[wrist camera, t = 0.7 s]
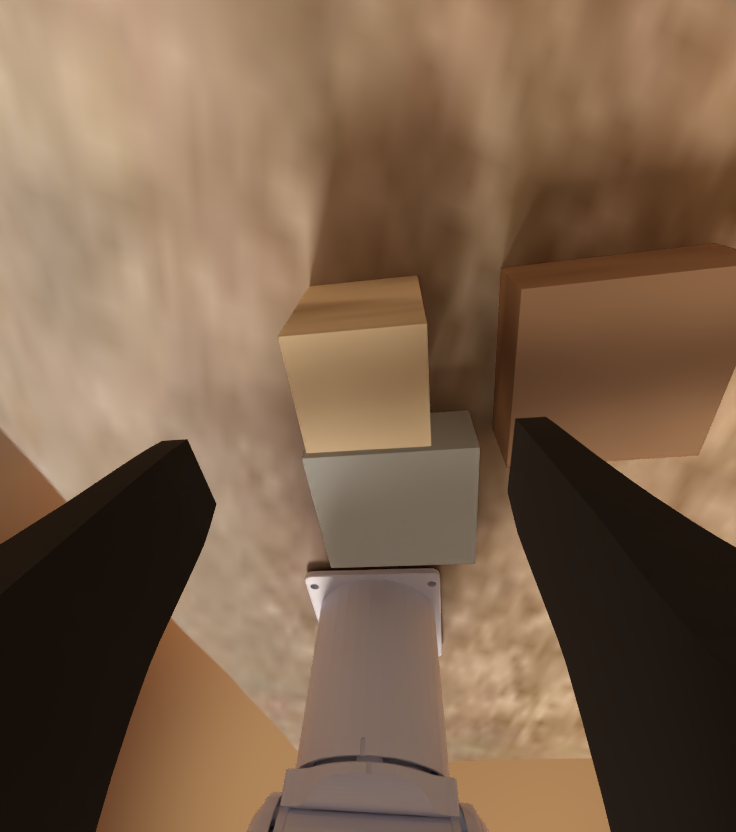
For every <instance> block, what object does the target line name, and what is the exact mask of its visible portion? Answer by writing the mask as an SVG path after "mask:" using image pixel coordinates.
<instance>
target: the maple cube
mask: <svg viewBox="0 0 736 832" xmlns="http://www.w3.org/2000/svg"><path fill="white" fill-rule="evenodd" d="M278 341H279V345H280V349H281V353H282V357H283V361H284V365H285V369H286V373H287V377H288V381H289V385H290V389H291V393H292V397H293V401H294V405H295V409H296V413H297V417H298V421H299V425H300V429H301V433H302V437H303V441H304V445H305V449H306V453H320V452H337V451H355V450H372V449H390V448H408V447H425V446H431V426H430V397H429V368H428V338H427V321H426V316H425V311H424V306H423V301H422V296H421V291H420V286H419V281H418V276H417V275H415V276H405V277H395V278H386V279H376V280H366V281H356V282H346V283H337V284H327V285H317V286H309V288H308V290H307V291H306V293H305V294H304V296H303V297H302V299H301V301H300V302H299V304H298V305H297V307H296V309H295V310H294V312H293V313H292V315H291V316H290V318H289V320H288V321H287V323H286V324H285V326H284V328H283V329H282V331H281V332H280V334H279V336H278Z"/></svg>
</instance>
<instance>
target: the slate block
mask: <svg viewBox="0 0 736 832" xmlns="http://www.w3.org/2000/svg"><path fill="white" fill-rule="evenodd" d="M430 426H431V446H425V447H408V448H390V449H372V450H355V451H337V452H320V453H306V449H304V453H303V456H302V461H303V465H304V469H305V472H306V476H307V480H308V484H309V487H310V491H311V495H312V498H313V502H314V506H315V510H316V513H317V517H318V521H319V524H320V528H321V532H322V536H323V539H324V543H325V547H326V550H327V554H328V558H329V562H330V565H331V568H348V567H380V566H413V565H445V564H475V558H476V532H477V507H478V482H479V457H480V446H479V443H478V440H477V436H476V433H475V429H474V426H473V423H472V419H471V416H470V412H469V410H463V411H450V412H436V413H430Z"/></svg>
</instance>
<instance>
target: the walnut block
mask: <svg viewBox="0 0 736 832" xmlns="http://www.w3.org/2000/svg"><path fill="white" fill-rule="evenodd" d="M735 366H736V249H733V248H730V247H726V246H723V245H719V244H715V243H713V244H705V245H696V246H687V247H678V248H670V249H661V250H652V251H643V252H634V253H626V254H617V255H608V256H599V257H591V258H582V259H573V260H564V261H556V262H547V263H538V264H529V265H521V266H512V267H503V268H501V276H500V295H499V314H498V333H497V352H496V371H495V390H494V409H493V428H492V429H493V431H494V434H495V437H496V439H497V442H498V445H499V447H500V450H501V453H502V456H503V458H504V461H505V464H506V466H507V467H510V463H511V454H512V444H513V435H514V425H515V419H516V418H531V417H547V418H549V419H550V420H551V421H553V422H554V423H555V424H557V425H558V426H559V427H561V428H562V429H563V430H565V431H566V432H567V433H569V434H570V435H571V436H572V437H574V438H575V439H576V440H578V441H579V442H580V443H582V444H583V445H584V446H585V447H587V448H588V449H589V450H591V451H592V452H593V453H595V454H596V455H597V456H599V457H600V458H601V459H603V460H604V461H617V460H633V459H649V458H665V457H681V456H697V455H699V453H700V451H701V449H702V446H703V444H704V441H705V439H706V436H707V434H708V432H709V429H710V427H711V424H712V422H713V419H714V417H715V415H716V412H717V410H718V407H719V405H720V403H721V400H722V398H723V395H724V393H725V390H726V388H727V386H728V383H729V381H730V378H731V376H732V373H733V371H734V369H735Z"/></svg>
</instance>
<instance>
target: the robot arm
mask: <svg viewBox="0 0 736 832" xmlns="http://www.w3.org/2000/svg"><path fill="white" fill-rule="evenodd" d="M508 495H509V499H510V503H511V508H512V512H513V516H514V520H515V524H516V528H517V532H518V535H519V538H520V541H521V543H522V546H523V549H524V551H525V554H526V557H527V559H528V562H529V565H530V567H531V570H532V573H533V575H534V578H535V581H536V583H537V586H538V588H539V591H540V594H541V596H542V599H543V602H544V604H545V607H546V609H547V612H548V615H549V617H550V620H551V622H552V625H553V628H554V630H555V633H556V636H557V638H558V641H559V644H560V647H561V650H562V653H563V656H564V659H565V662H566V665H567V668H568V672H569V675H570V679H571V683H572V686H573V690H574V693H575V697H576V700H577V704H578V708H579V711H580V715H581V718H582V722H583V726H584V729H585V733H586V737H587V741H588V744H589V748H590V752H591V756H592V759H593V763H594V767H595V771H596V775H597V778H598V782H599V786H600V790H601V794H602V798H603V802H604V806H605V810H606V814H607V818H608V822H609V826H610V830H611V832H736V547H734V546H732V545H731V544H729V543H727V542H725V541H724V540H722V539H720V538H718V537H717V536H715V535H714V534H712V533H710V532H709V531H707V530H705V529H704V528H702V527H701V526H699V525H697V524H696V523H694V522H693V521H691V520H689V519H688V518H686V517H685V516H683V515H682V514H680V513H679V512H677V511H676V510H674V509H673V508H671V507H670V506H668V505H667V504H665V503H664V502H662V501H660V500H659V499H657V498H656V497H654V496H653V495H651V494H650V493H649V492H647V491H646V490H644V489H643V488H641V487H640V486H638V485H637V484H636V483H634V482H633V481H631V480H630V479H629V478H627V477H626V476H624V475H623V474H622V473H620V472H619V471H617V470H616V469H615V468H613V467H612V466H611V465H609V464H608V463H607V462H605V461H604V460H603V459H601V458H600V457H599V456H597V455H596V454H595V453H593V452H592V451H591V450H589V449H588V448H587V447H585V446H584V445H583V444H582V443H580V442H579V441H578V440H576V439H575V438H574V437H572V436H571V435H570V434H569V433H567V432H566V431H565V430H563V429H562V428H561V427H559V426H558V425H557V424H555V423H554V422H553V421H551V420H550V419H549V418H547V417H531V418H516V419H515V425H514V435H513V444H512V454H511V463H510V473H509V482H508ZM215 507H216V502H215V500H214V498H213V496H212V493H211V491H210V489H209V487H208V484H207V482H206V480H205V478H204V475H203V473H202V471H201V469H200V466H199V464H198V462H197V460H196V458H195V455H194V453H193V451H192V449H191V446H190V444H189V442H188V440H187V439H186V440H170V441H161V442H160V443H158V444H156V445H154V446H152V447H150V448H149V449H147V450H145V451H144V452H142V453H141V454H139V455H137V456H136V457H134V458H133V459H131V460H130V461H128V462H127V463H125V464H124V465H122V466H120V467H119V468H117V469H116V470H114V471H113V472H111V473H110V474H109V475H107V476H106V477H104V478H103V479H101V480H100V481H98V482H97V483H95V484H94V485H92V486H91V487H89V488H88V489H86V490H85V491H83V492H82V493H80V494H79V495H77V496H76V497H74V498H73V499H71V500H70V501H68V502H67V503H65V504H64V505H62V506H61V507H59V508H57V509H56V510H54V511H53V512H51V513H49V514H48V515H46V516H45V517H43V518H41V519H40V520H38V521H37V522H35V523H34V524H32V525H30V526H29V527H27V528H26V529H24V530H23V531H21V532H19V533H18V534H16V535H15V536H13V537H11V538H10V539H8V540H7V541H5V542H3V543H2V544H0V832H96V828H97V825H98V821H99V818H100V815H101V811H102V808H103V804H104V801H105V797H106V794H107V791H108V787H109V784H110V780H111V776H112V774H113V770H114V767H115V764H116V761H117V758H118V755H119V752H120V749H121V746H122V743H123V740H124V737H125V734H126V730H127V727H128V724H129V721H130V718H131V715H132V713H133V709H134V707H135V704H136V701H137V699H138V695H139V693H140V690H141V687H142V685H143V682H144V679H145V676H146V673H147V671H148V668H149V665H150V663H151V660H152V658H153V656H154V653H155V651H156V648H157V646H158V644H159V641H160V639H161V637H162V635H163V633H164V631H165V629H166V626H167V624H168V622H169V620H170V618H171V616H172V614H173V611H174V609H175V607H176V605H177V603H178V601H179V599H180V596H181V594H182V592H183V590H184V588H185V586H186V584H187V581H188V579H189V577H190V575H191V573H192V571H193V568H194V566H195V564H196V562H197V560H198V557H199V555H200V553H201V551H202V548H203V546H204V543H205V540H206V537H207V534H208V531H209V528H210V525H211V521H212V518H213V514H214V511H215ZM305 583H306V586H307V589H308V592H309V595H310V598H311V601H312V604H313V607H314V610H315V613H316V617H317V620H318V629H317V636H316V642H315V648H314V655H313V661H312V668H311V674H310V680H309V687H308V693H307V699H306V706H305V712H304V718H303V725H302V731H301V737H300V744H299V750H298V756H297V763H296V769H287V770H286V773H285V779H284V785H283V791H282V792H274V793H271V794H270V795H269V796H268V797H267V798H266V800H265V802H264V804H263V805H262V806H261V807H260V808H259V809H258V811H257V812H256V813H255V815H254V816H253V818H252V820H251V822H250V824H249V826H248V829H247V832H489V830H488V828H487V826H486V824H485V823H484V822H483V820H482V819H481V818H480V817H479V815H478V814H477V812H476V810H475V808H474V807H473V805H471V804H469V803H459V800H458V791H457V781H456V779H455V778H451V777H449V766H448V755H447V744H446V733H445V722H444V711H443V700H442V689H441V678H440V667H439V656H441V655H442V635H441V595H440V573H439V571H438V570H437V569H434V568H413V569H376V570H338V571H311V572H308V573H307V574H306V577H305Z"/></svg>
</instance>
